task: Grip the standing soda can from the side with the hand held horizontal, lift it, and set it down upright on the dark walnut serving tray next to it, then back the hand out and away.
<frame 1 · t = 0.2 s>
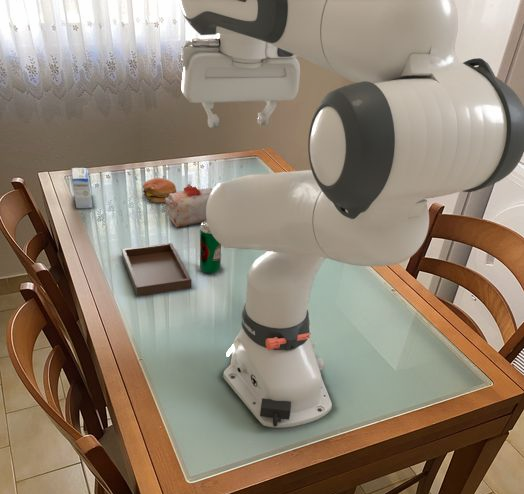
hand: (238, 125, 95), 39 cm above the table, tool pointing down, fingers open, 8 cm apart
medicine box: (83, 203, 153), on the table
food item: (192, 221, 149), on the table
burger: (160, 197, 159), on the table
tray: (155, 272, 127), on the table
soda can: (210, 270, 130), on the table
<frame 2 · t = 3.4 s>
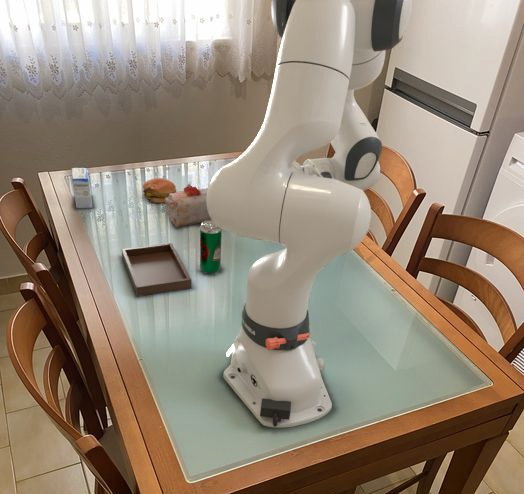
hand: (261, 184, 121), 21 cm above the table, tool horizontal, fingers open, 8 cm apart
nothing on the table moved.
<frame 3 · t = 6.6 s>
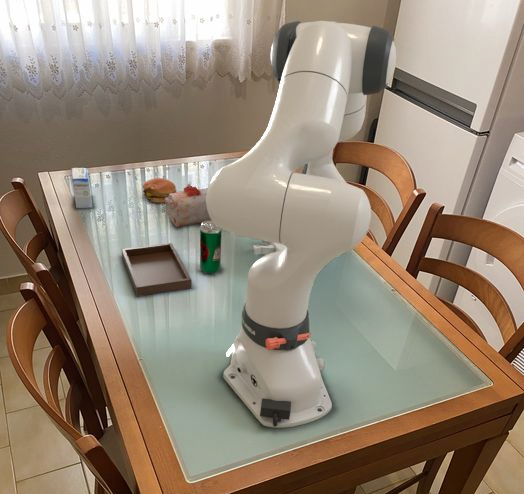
hand: (246, 240, 129), 7 cm above the table, tool horizontal, fingers open, 8 cm apart
nothing on the table moved.
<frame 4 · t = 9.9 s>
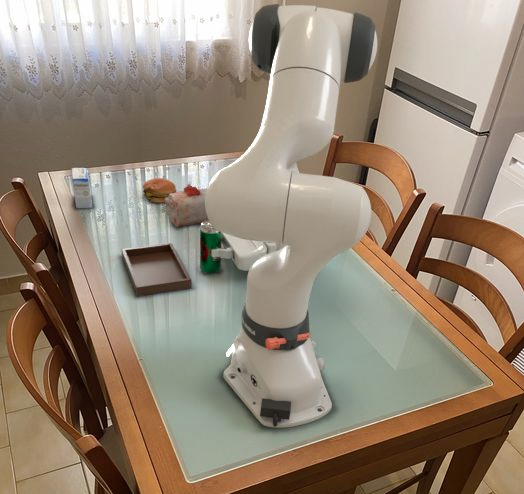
hand: (207, 246, 126), 7 cm above the table, tool horizontal, fingers closed on soda can, 5 cm apart
soda can: (210, 270, 130), on the table, touching gripper
everything else where it was.
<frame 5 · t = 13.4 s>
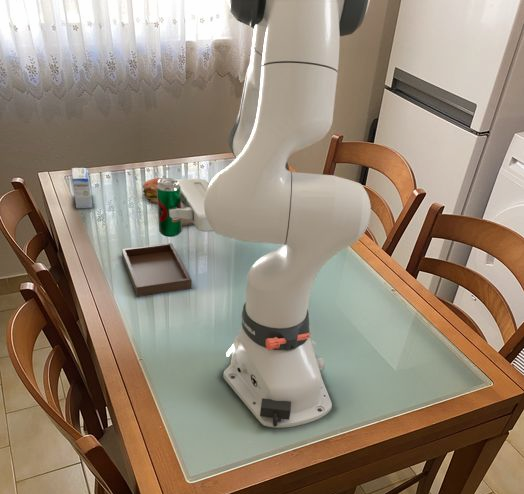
hand: (165, 206, 117), 17 cm above the table, tool horizontal, fingers closed on soda can, 5 cm apart
soda can: (170, 233, 122), point 10 cm above the table, touching gripper
everything else where it was.
when the fingers open (7 cm above the table, at t = 17.1 s): soda can stays where it is, resting on tray.
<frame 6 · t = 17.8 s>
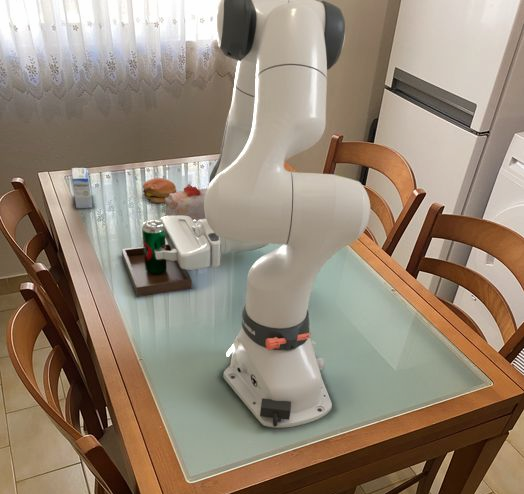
hand: (150, 244, 122), 8 cm above the table, tool horizontal, fingers open, 8 cm apart
soda can: (156, 270, 127), resting on tray
everything else where it was.
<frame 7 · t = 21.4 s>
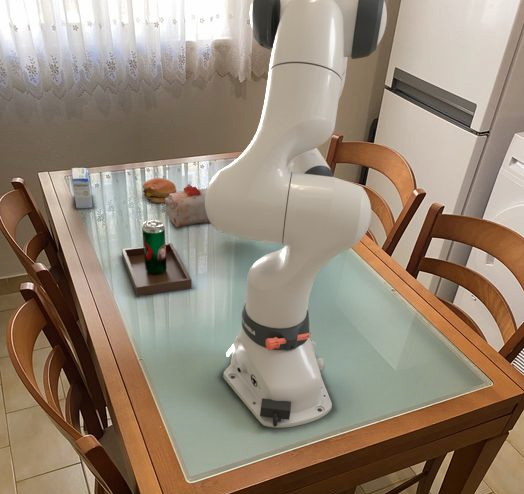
hand: (215, 214, 123), 14 cm above the table, tool horizontal, fingers open, 8 cm apart
nothing on the table moved.
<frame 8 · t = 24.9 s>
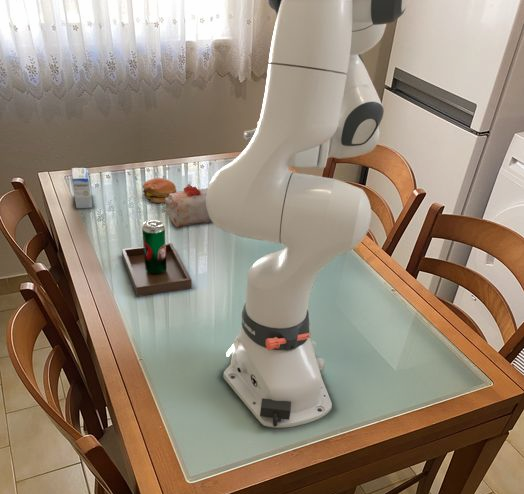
hand: (252, 143, 114), 30 cm above the table, tool horizontal, fingers open, 8 cm apart
nothing on the table moved.
at the end: soda can inside the target area in the tray (0.2 cm from its centre), point 0.4 cm above the tray's base; soda can tilted 0°; the gripper is holding nothing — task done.
